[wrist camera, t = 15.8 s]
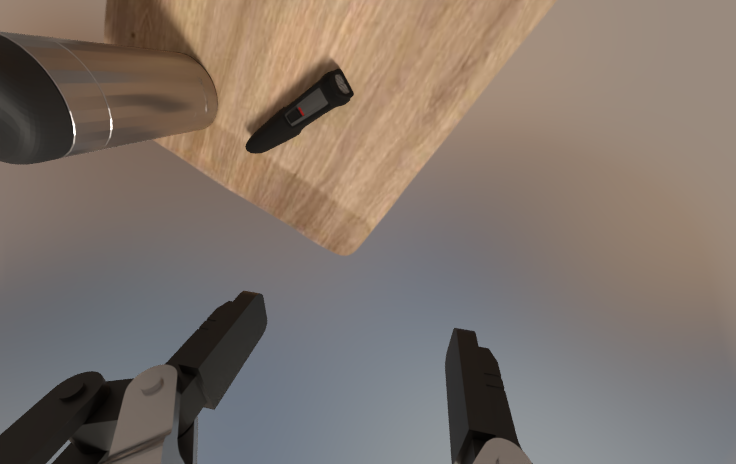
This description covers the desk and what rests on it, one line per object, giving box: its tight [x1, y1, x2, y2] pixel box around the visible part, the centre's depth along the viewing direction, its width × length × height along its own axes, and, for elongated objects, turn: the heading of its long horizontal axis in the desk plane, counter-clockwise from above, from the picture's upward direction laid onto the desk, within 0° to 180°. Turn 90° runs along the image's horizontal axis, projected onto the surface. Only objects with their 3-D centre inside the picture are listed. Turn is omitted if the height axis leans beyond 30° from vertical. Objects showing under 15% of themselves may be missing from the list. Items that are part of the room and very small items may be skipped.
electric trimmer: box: [246, 69, 354, 153], centre depth 34 cm, size 4×16×3 cm, turn 120°
